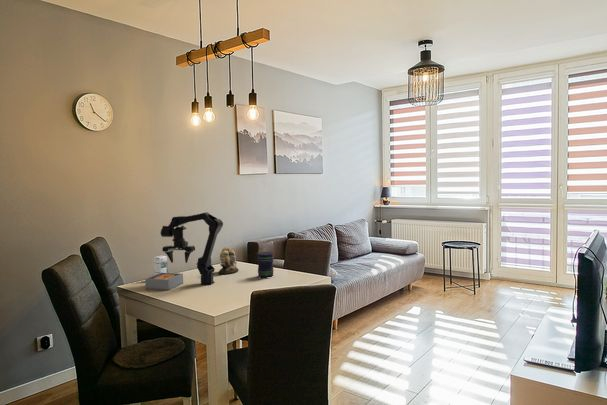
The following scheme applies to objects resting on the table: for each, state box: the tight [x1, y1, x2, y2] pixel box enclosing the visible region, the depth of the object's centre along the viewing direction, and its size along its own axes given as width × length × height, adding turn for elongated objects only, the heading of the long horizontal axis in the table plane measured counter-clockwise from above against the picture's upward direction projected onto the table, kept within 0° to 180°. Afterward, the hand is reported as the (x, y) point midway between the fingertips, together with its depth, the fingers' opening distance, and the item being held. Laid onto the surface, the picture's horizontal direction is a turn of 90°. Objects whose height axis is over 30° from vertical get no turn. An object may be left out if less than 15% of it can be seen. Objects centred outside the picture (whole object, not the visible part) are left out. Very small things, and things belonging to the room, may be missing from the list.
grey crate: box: [144, 272, 184, 291], centre depth 238 cm, size 14×16×6 cm
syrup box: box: [153, 255, 169, 275], centre depth 256 cm, size 6×6×14 cm
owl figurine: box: [218, 246, 239, 275], centre depth 275 cm, size 18×12×17 cm, turn 166°
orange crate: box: [154, 274, 175, 280], centre depth 238 cm, size 7×10×5 cm
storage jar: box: [257, 251, 274, 279], centre depth 260 cm, size 10×10×15 cm
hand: (179, 262), depth 248 cm, fingers open, 9 cm apart
